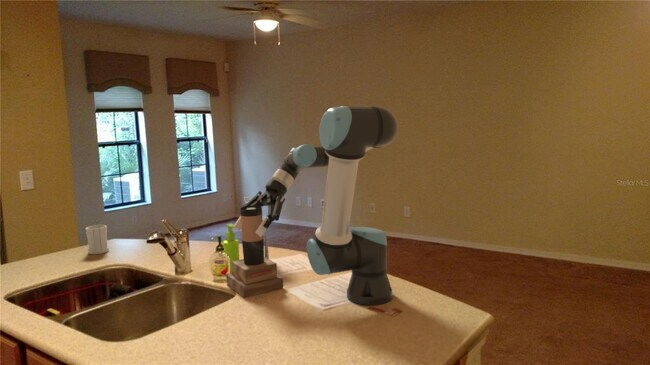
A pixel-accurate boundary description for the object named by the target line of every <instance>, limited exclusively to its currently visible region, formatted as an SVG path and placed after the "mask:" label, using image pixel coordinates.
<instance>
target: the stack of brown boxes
mask: <svg viewBox="0 0 650 365" xmlns="http://www.w3.org/2000/svg"><path fill="white" fill-rule="evenodd" d="M226 283H227V284H226V285H227V286H228V287H229V288H230V289H231V290H233V291H235V293H237V294H238V295H240V296H241V297H242V298H243V299H244V298H249V297H252V296H257V295H260V294H264V293H269V292H274V291H276V290H277V291H278V290H282V289H284V277H283V276H282V275H279V274H278V268H277V262H275V261H272V260H271V259H270V258H269V259H267V258H265V256H264V263H262V264H260V265H245V264H244V258H243V259H239V260H237V261H232V274H227V276H226Z"/></svg>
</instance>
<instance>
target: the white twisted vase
mask: <svg viewBox="0 0 650 365" xmlns="http://www.w3.org/2000/svg"><path fill="white" fill-rule="evenodd" d="M252 198H253V197H251V196H244V197H243V200H244V202H245V204H246V203H248V202H249V201H250V200H251V199H252ZM246 199H249V201H247V200H246ZM263 235H264V257H265V258H267V259H269V260H270V256H269V242H268V238H267V237H268V236H267V231H265V232H264V234H263Z"/></svg>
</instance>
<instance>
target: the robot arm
mask: <svg viewBox="0 0 650 365" xmlns="http://www.w3.org/2000/svg"><path fill="white" fill-rule="evenodd" d="M398 131H399V124H398V121H397V118H396V116H395V115H394V114H393V112H392V111H390V110H389V109H387V108H385V107H382V106H378V105H374V106H373V105H371V106H365V105H364V106H363V105H362V106H347V105H342V106H335V107H330V108H329V109H327V111H326V112H324V114H323V115H322V117H321V119H320V124H319V128H318V136H319V138H318V139H319V142H320V146H312V145H311V144H305V143H303V144H302V145H299V146H298V147H292V148H291V150H290V151H289V152H288V153H287V154H286V156H285V158H284V159H283V161H282V162H281V163H280V165H279V167H277V169H276V171H275V172H274V173H273V174H272V176H271V178H270V179H269V180H268V182H267V184H266V185H265V187H264V188H265V191H264V192H262V191H260V190H259V191H258V192H257V193H256V194H255V195H254V196H253V197H252V199H251V198H250V199H251V200H250V199H249V202H248V201H247V202H248V203H245V204H244V205H243V206H242V207H244V206H252V205H256V206H261V207H262V208H263V207H267V215H266V216H265V217H264V218H263V222H262V223H261V225H260V226H259V227H258V229H257V230H256V232H255V233H256V234H257V235H258V236H260V237H262V235H263V234H264V235H265V232H267V229H269V228H270V226H271V224H272V223H274V222H275V221H277V222H278V221H279V220H280V217H281V212H282V208H283V205H284V202H285V200H286V198H285V197H284V196H285V195H286V194H287V193H288V192H287V191H288V190H289V189H290V187H291V185H292V184H293V183H294V181H295V180H296V178H298V175H299V174H300V173H301V171H304V170H305V169H308V168H309V169H311V168H323V167H327V172H326V174H327V176H326V183H325V189H324V190H325V191H324V198H323V199H324V200H323V206H322V215H321V224H320V226H319V227H317V228H316V230H315V233H314V234H315V235H314V238H310V239H308V240H307V242H306V253H307V254H306V255H307V258H308V262H309V264H310V267H311V269H312V270H313V272H314V273H316V275H319V276H324V275H329V276H330V275H332V274H337V273H338V274H339V273H342V272H349V271H351V275H350V279H349V283H348V286H347V288H346V298H347V299H348V300H349V301H350V302H352V303H355V304H358V305H363V306H374V305H375V306H376V305H377V306H378V305H383V304H386V303H388V302H390V301H391V300H392V299H393V288H392V287H391V281H390V279H389V276H388V267H387V266H388V263H387V262H388V256H387V255H388V251H387V250H388V249H387V248H388V241H387V234H386V233H385V232H384V231H383V230H381V229H379V228H375V227H367V226H354V227H352V228H351V229H350V230H349V228H350V222H351V216H352V210H353V203H354V196H355V195H354V194H355V189H356V182H357V175H358V174H357V173H358V168H359V162H360V161H361V160H363V159H364V158H365V156H366V152H368V151H370V150H372V149H382V148H384V147H386V146H388V145H390V144H391V143H392V142H393V141H395V139H396V137H397V135H398ZM233 227H234V228H233V229H236V231H238V232H240V231H241V215H240V216H239V217H238V219H237V220H236V222H235V223H234V226H233Z"/></svg>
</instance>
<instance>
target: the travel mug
mask: <svg viewBox="0 0 650 365" xmlns="http://www.w3.org/2000/svg"><path fill="white" fill-rule="evenodd" d="M243 206H244V205H243ZM243 206H241V207H240V209H239V210H240V216H241V229H240V231H241V245H242V254H243V255H242V256H243V259H244V264H245V265H260V264H262V263H264V257H265V243H264V242H265V234H264V235H262V237H260V236H258V235H257V234H256V233H255V232H256V230H257V229H258V227H259V226H260V225H261V223H262V222H263V220H264V218H263V207H261V206H256V205H252V206H244V207H243Z"/></svg>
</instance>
